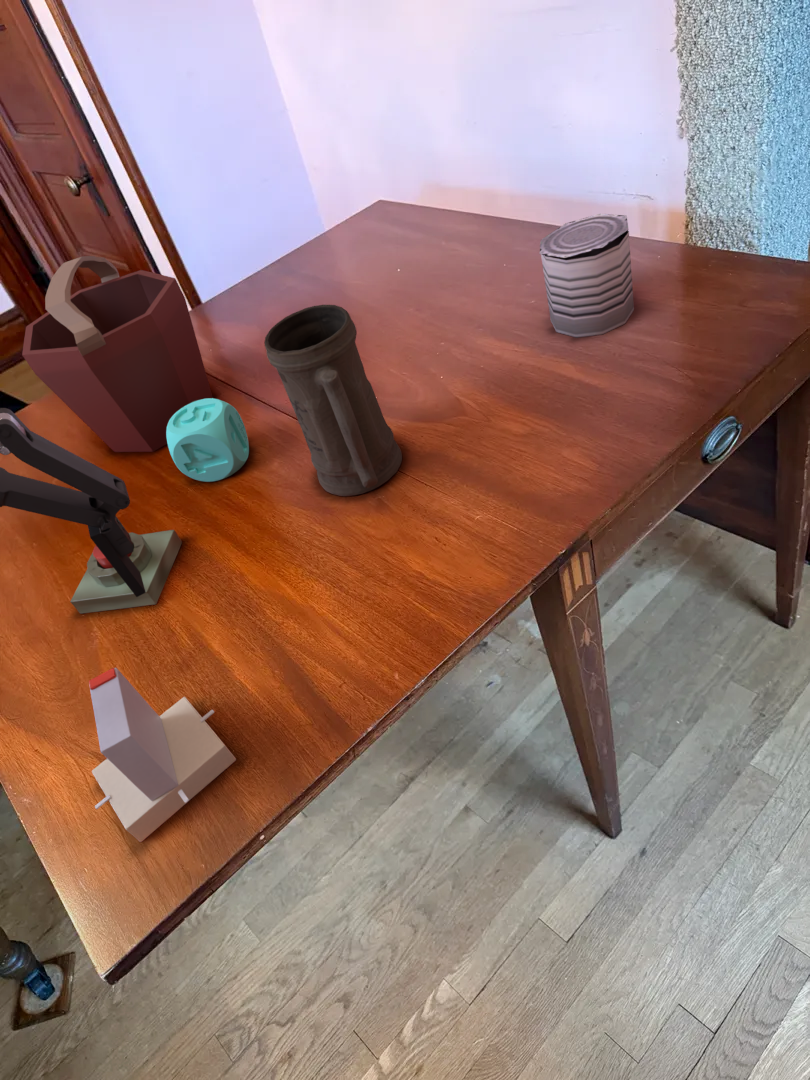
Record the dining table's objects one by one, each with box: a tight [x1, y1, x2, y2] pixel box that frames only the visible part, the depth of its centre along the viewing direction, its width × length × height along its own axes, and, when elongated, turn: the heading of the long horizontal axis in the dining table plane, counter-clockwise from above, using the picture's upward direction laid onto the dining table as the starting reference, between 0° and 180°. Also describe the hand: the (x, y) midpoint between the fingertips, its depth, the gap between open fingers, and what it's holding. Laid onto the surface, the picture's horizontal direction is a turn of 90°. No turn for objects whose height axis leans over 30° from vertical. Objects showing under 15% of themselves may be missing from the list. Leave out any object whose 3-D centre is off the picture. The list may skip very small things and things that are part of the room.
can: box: [539, 213, 635, 338], centre depth 99 cm, size 11×11×12 cm
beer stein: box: [263, 304, 403, 497], centre depth 84 cm, size 15×11×20 cm
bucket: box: [21, 255, 214, 453], centre depth 107 cm, size 24×22×25 cm
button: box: [92, 545, 132, 569], centre depth 86 cm, size 4×4×2 cm
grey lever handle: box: [88, 667, 178, 801], centre depth 62 cm, size 8×2×8 cm, turn 25°
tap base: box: [91, 696, 237, 843], centre depth 66 cm, size 12×12×3 cm
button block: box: [69, 529, 183, 614], centre depth 87 cm, size 10×10×4 cm
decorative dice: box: [166, 397, 250, 483], centre depth 99 cm, size 8×8×8 cm
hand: (56, 627), depth 57 cm, fingers open, 13 cm apart
